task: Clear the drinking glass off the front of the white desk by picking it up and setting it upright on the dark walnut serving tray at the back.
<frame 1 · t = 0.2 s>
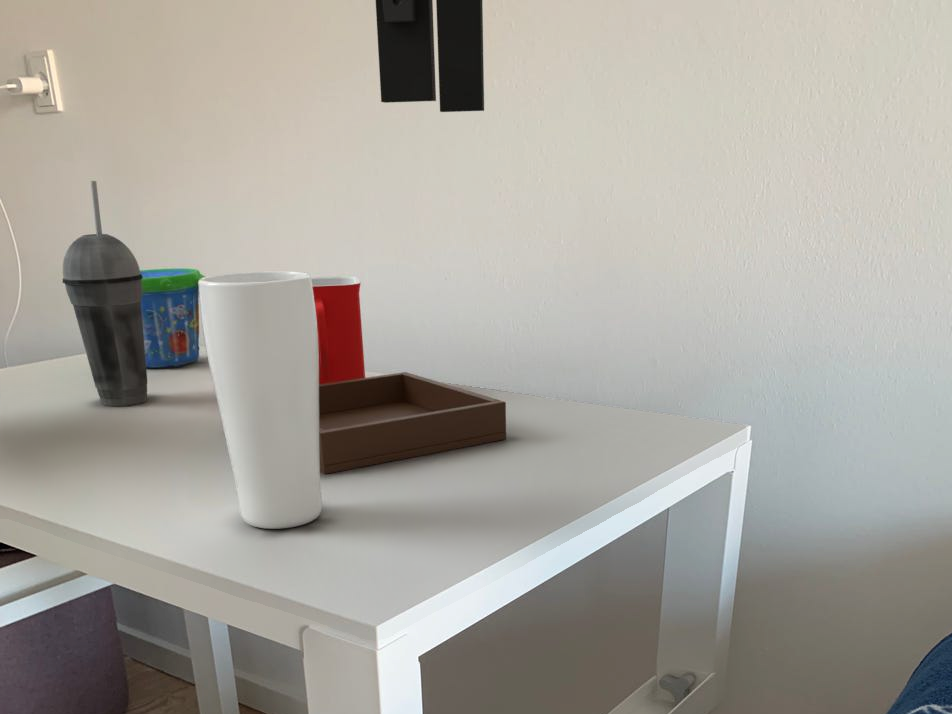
hand: (438, 107, 57), 24 cm above the table, tool pointing down, fingers open, 13 cm apart
serving tray: (370, 435, 85), on the table
mug: (327, 397, 100), on the table
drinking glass: (282, 521, 66), on the table
snack cup: (167, 365, 119), on the table
beverage cup: (124, 403, 100), on the table
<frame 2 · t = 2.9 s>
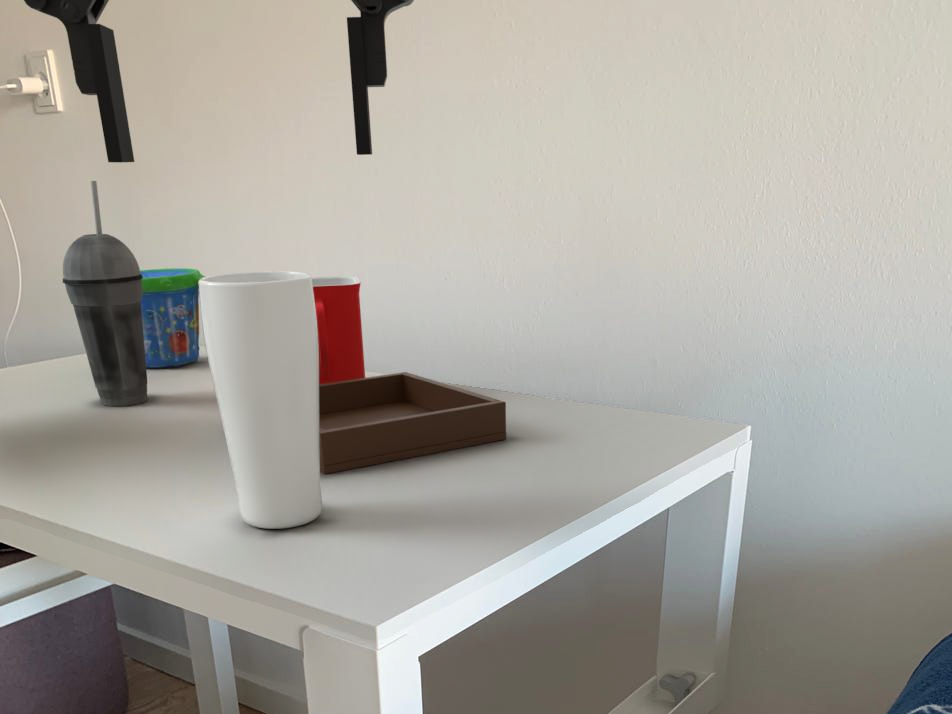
hand: (243, 159, 56), 21 cm above the table, tool pointing down, fingers open, 13 cm apart
nothing on the table moved.
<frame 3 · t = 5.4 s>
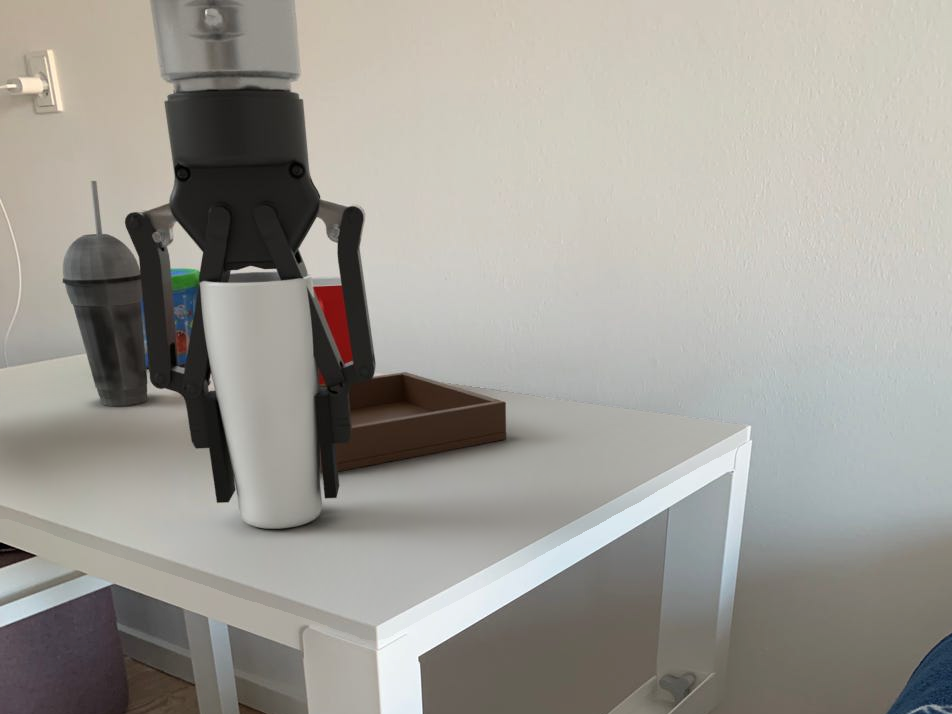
hand: (279, 493, 65), 2 cm above the table, tool pointing down, fingers closed on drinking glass, 6 cm apart
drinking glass: (282, 521, 66), on the table, touching gripper
everything else where it was.
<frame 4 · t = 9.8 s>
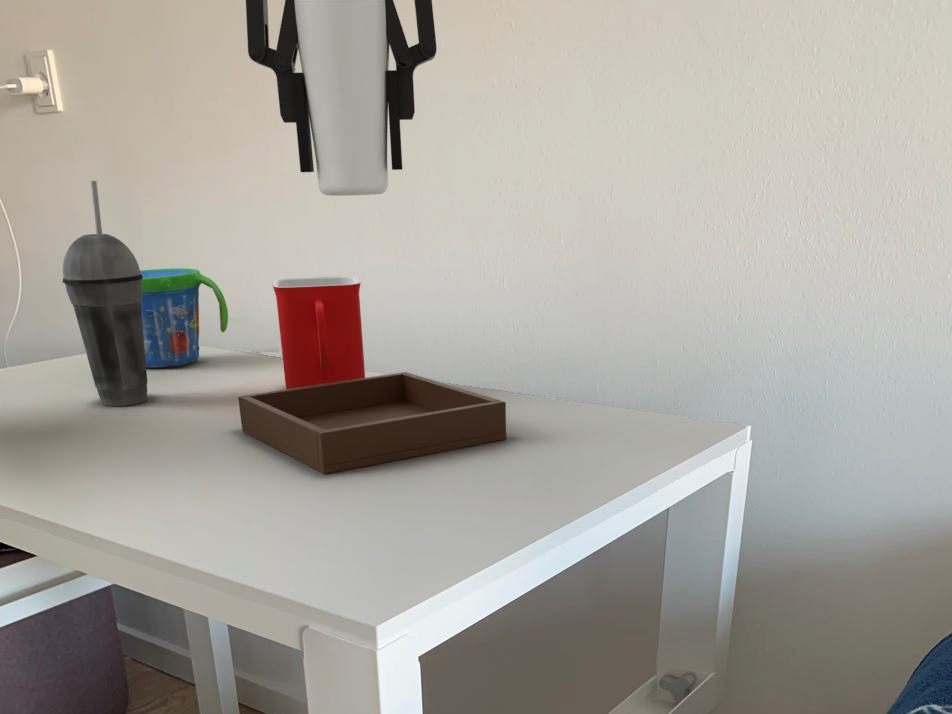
hand: (352, 170, 76), 20 cm above the table, tool pointing down, fingers closed on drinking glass, 6 cm apart
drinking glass: (354, 197, 77), point 19 cm above the table, touching gripper
everything else where it was.
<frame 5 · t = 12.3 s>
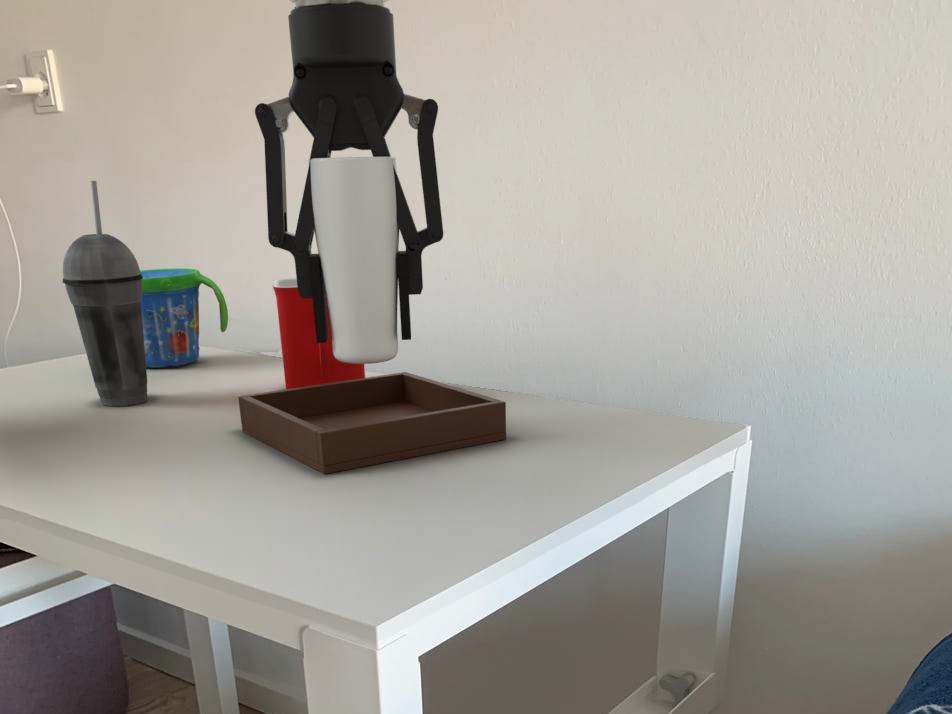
hand: (364, 338, 82), 8 cm above the table, tool pointing down, fingers closed on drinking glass, 6 cm apart
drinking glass: (366, 361, 83), point 6 cm above the table, touching gripper
everything else where it was.
when the fingers open (2 cm above the table, at t = 14.0 s): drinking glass stays where it is, resting on serving tray.
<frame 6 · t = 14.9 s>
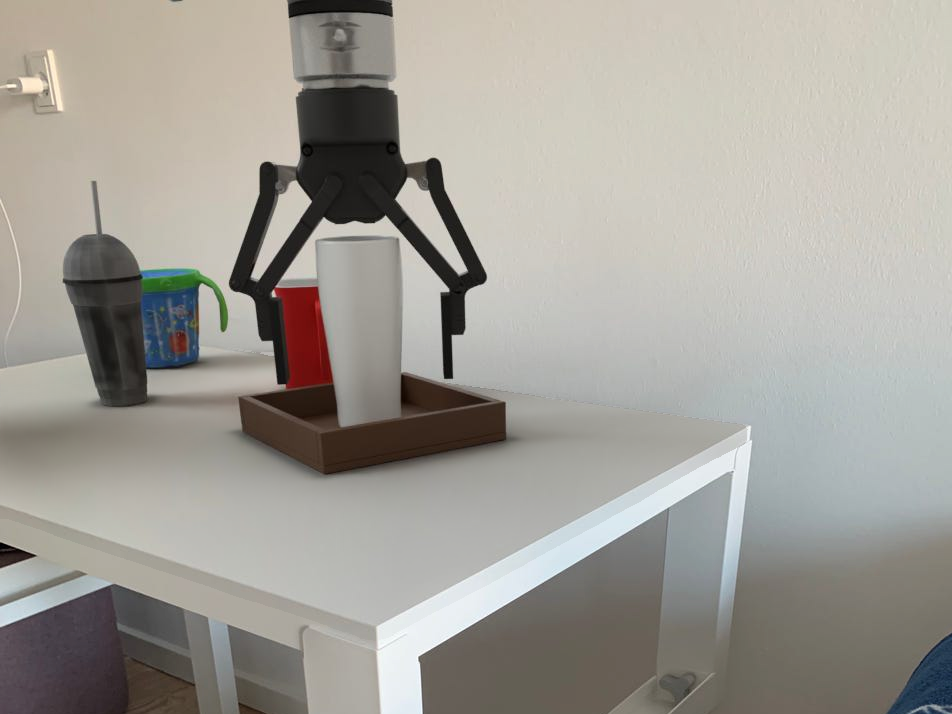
hand: (366, 379, 83), 5 cm above the table, tool pointing down, fingers open, 13 cm apart
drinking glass: (370, 430, 85), resting on serving tray
everything else where it was.
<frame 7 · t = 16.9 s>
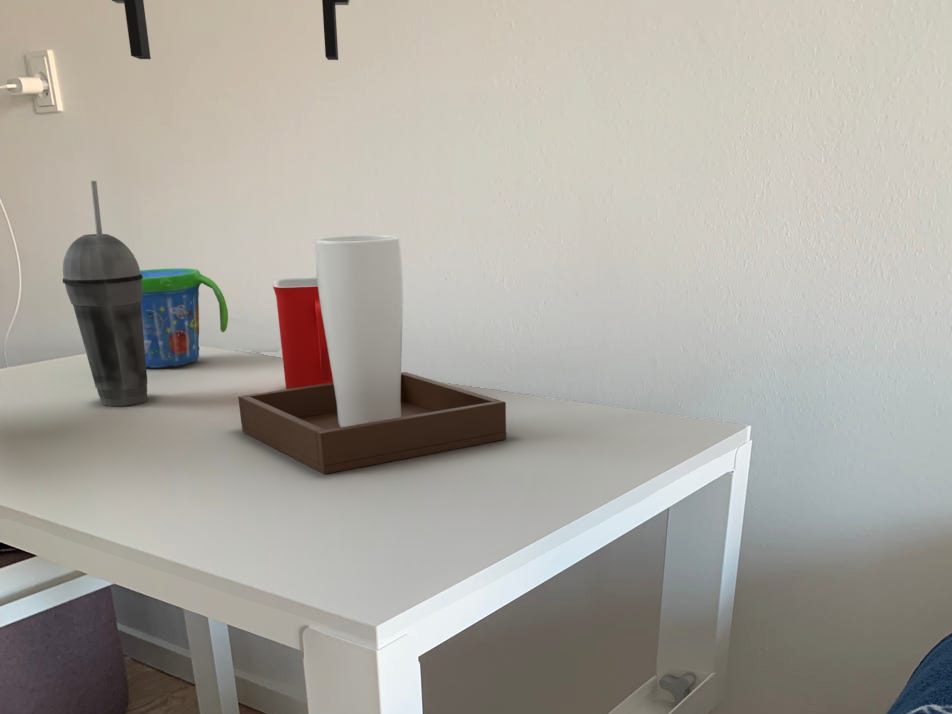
hand: (237, 58, 72), 28 cm above the table, tool pointing down, fingers open, 13 cm apart
nothing on the table moved.
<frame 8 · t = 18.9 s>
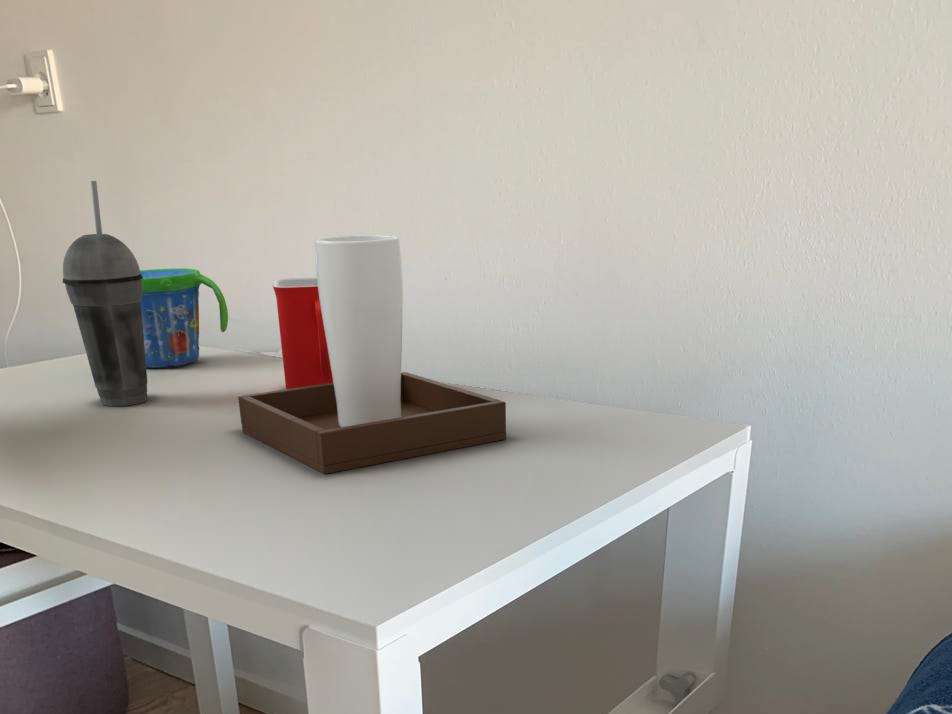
nothing on the table moved.
at the end: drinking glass inside the target area in the serving tray (0.0 cm from its centre), point 0.4 cm above the serving tray's base; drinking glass tilted 0°; the gripper is holding nothing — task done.
